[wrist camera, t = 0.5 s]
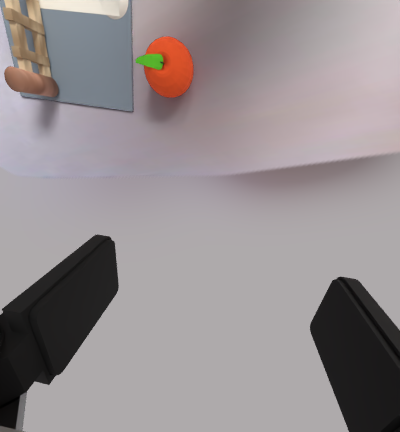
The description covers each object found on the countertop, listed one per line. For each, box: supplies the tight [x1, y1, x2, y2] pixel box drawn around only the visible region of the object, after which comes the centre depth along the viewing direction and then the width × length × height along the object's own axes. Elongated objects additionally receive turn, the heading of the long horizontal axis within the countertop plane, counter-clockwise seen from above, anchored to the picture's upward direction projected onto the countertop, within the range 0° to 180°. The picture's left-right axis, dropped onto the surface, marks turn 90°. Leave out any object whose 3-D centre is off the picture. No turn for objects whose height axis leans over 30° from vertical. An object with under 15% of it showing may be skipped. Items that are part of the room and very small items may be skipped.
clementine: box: [136, 37, 193, 98], centre depth 28 cm, size 8×7×7 cm
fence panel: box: [2, 0, 58, 97], centre depth 29 cm, size 12×3×6 cm, turn 173°
